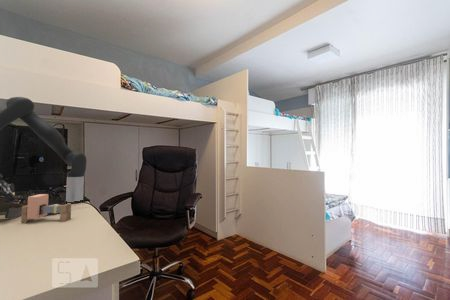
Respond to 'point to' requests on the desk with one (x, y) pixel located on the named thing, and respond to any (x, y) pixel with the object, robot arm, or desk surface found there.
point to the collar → (36, 206)
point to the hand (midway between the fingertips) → (14, 200)
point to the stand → (64, 213)
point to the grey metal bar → (49, 209)
